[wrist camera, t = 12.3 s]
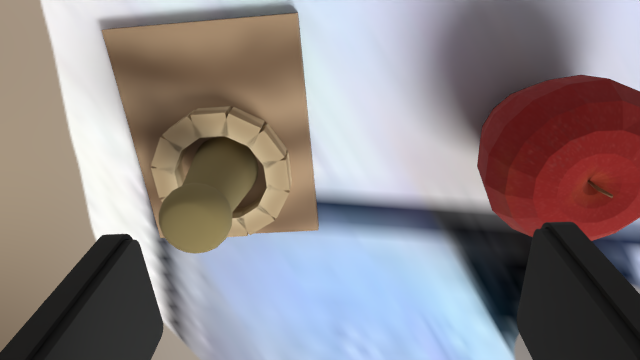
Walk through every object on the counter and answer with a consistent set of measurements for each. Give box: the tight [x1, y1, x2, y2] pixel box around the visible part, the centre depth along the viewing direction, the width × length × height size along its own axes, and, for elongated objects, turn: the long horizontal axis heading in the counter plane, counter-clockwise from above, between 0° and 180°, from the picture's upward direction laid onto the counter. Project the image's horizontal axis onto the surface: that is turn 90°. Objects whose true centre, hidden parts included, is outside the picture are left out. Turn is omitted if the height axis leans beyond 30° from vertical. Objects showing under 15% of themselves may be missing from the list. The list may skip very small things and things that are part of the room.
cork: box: [159, 137, 258, 253], centre depth 35 cm, size 6×6×11 cm
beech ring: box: [151, 106, 292, 237], centre depth 39 cm, size 12×12×2 cm
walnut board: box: [102, 13, 319, 238], centre depth 39 cm, size 20×16×1 cm
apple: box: [477, 75, 640, 241], centre depth 32 cm, size 12×12×13 cm
